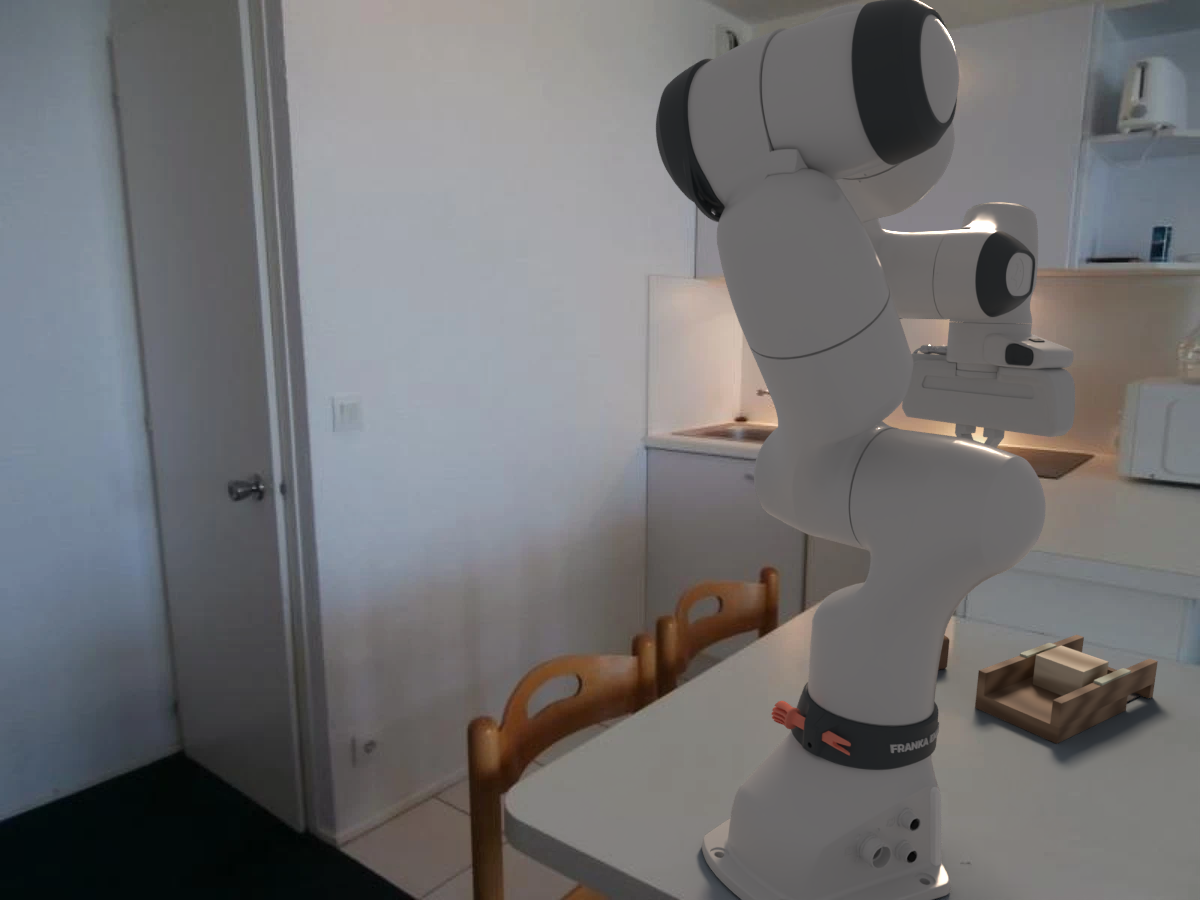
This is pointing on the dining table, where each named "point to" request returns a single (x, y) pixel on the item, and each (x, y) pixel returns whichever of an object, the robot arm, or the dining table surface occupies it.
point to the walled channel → (1049, 713)
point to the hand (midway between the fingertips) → (976, 463)
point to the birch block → (1067, 670)
